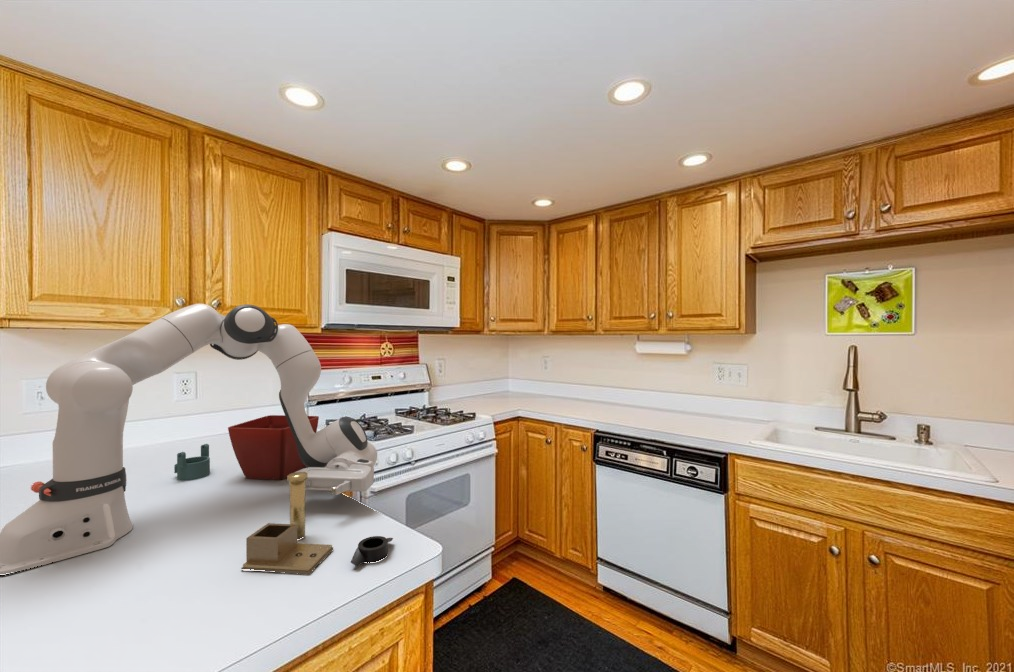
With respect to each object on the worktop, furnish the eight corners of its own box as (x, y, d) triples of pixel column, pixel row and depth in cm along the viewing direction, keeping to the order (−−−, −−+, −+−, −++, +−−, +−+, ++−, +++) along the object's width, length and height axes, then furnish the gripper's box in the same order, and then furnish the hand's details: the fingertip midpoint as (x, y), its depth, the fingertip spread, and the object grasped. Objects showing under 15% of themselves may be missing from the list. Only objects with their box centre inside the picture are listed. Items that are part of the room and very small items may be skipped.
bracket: (209, 470, 139) (209, 443, 139) (210, 477, 132) (209, 449, 132) (175, 475, 134) (174, 447, 134) (173, 483, 127) (173, 454, 127)
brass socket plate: (309, 574, 79) (309, 544, 79) (241, 571, 80) (241, 541, 80) (333, 550, 88) (333, 523, 88) (271, 547, 89) (271, 520, 89)
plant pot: (226, 482, 128) (225, 426, 128) (269, 462, 147) (269, 414, 147) (283, 485, 125) (283, 428, 125) (320, 465, 144) (320, 416, 144)
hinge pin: (294, 543, 91) (294, 479, 90) (283, 539, 93) (283, 475, 92) (311, 536, 94) (311, 473, 94) (300, 531, 96) (300, 470, 96)
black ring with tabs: (342, 556, 86) (342, 541, 86) (391, 542, 92) (390, 529, 92) (352, 574, 80) (352, 558, 80) (403, 558, 85) (403, 543, 85)
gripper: (306, 459, 115) (274, 476, 102) (378, 461, 114) (356, 479, 100) (306, 482, 115) (274, 502, 102) (378, 484, 114) (356, 505, 100)
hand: (315, 490), depth 101 cm, fingers open, 8 cm apart
